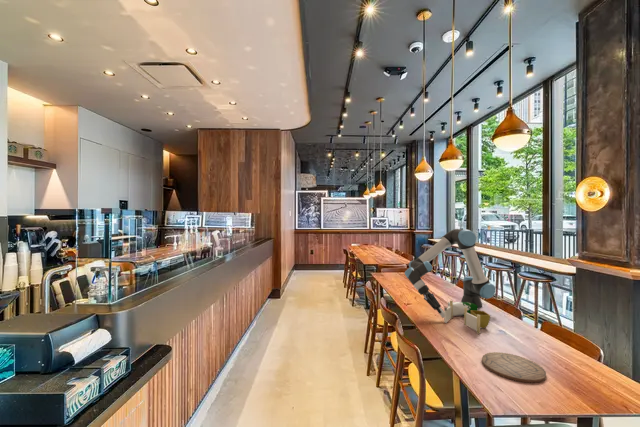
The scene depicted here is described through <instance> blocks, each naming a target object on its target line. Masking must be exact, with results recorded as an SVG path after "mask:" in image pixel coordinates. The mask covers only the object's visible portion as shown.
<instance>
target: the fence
mask: <svg viewBox="0 0 640 427" xmlns="http://www.w3.org/2000/svg"><path fill="white" fill-rule="evenodd" d="M449 302H450V306H451V319H453V318H454V316H453V302H454V301H453V300H449ZM451 319H450V320H451ZM463 323H464V324H463V325H464V326H467V327H469V328H470V329H472V330H473V331H475V332H476V334H478V335H480V334H481V328H480V315H477V317H475V316H473V315H471V314H469V313H467V308H464V316H463Z"/></svg>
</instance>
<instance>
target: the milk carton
mask: <svg viewBox="0 0 640 427" xmlns="http://www.w3.org/2000/svg"><path fill="white" fill-rule="evenodd" d="M449 306H450V301H449V302H447V308H448V307H449ZM464 308H467V313H469V314H471V311H470V310H473V311H479V310H478V309H479V308H477V305H476V304H473V303H468V302H461V301H456V302H454V301H453V317H456V316H458V317H460V316H461V317H464Z"/></svg>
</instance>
